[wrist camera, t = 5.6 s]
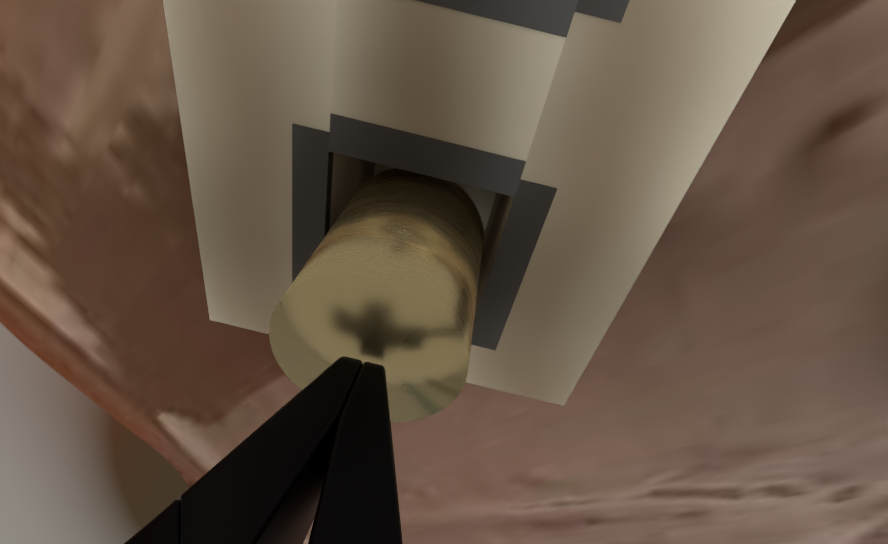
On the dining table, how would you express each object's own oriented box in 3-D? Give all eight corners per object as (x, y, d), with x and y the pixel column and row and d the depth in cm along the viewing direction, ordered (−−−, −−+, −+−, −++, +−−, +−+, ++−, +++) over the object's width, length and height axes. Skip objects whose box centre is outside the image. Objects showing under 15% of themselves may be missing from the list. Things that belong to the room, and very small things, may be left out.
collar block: (847, -368, 9) (1229, -754, 4) (552, 295, 20) (563, 407, 15) (280, -513, 9) (1, -1075, 4) (286, 230, 20) (209, 320, 15)
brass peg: (500, 187, 12) (491, 306, 8) (466, 301, 14) (445, 439, 10) (352, 151, 12) (265, 251, 8) (343, 271, 14) (271, 397, 10)
